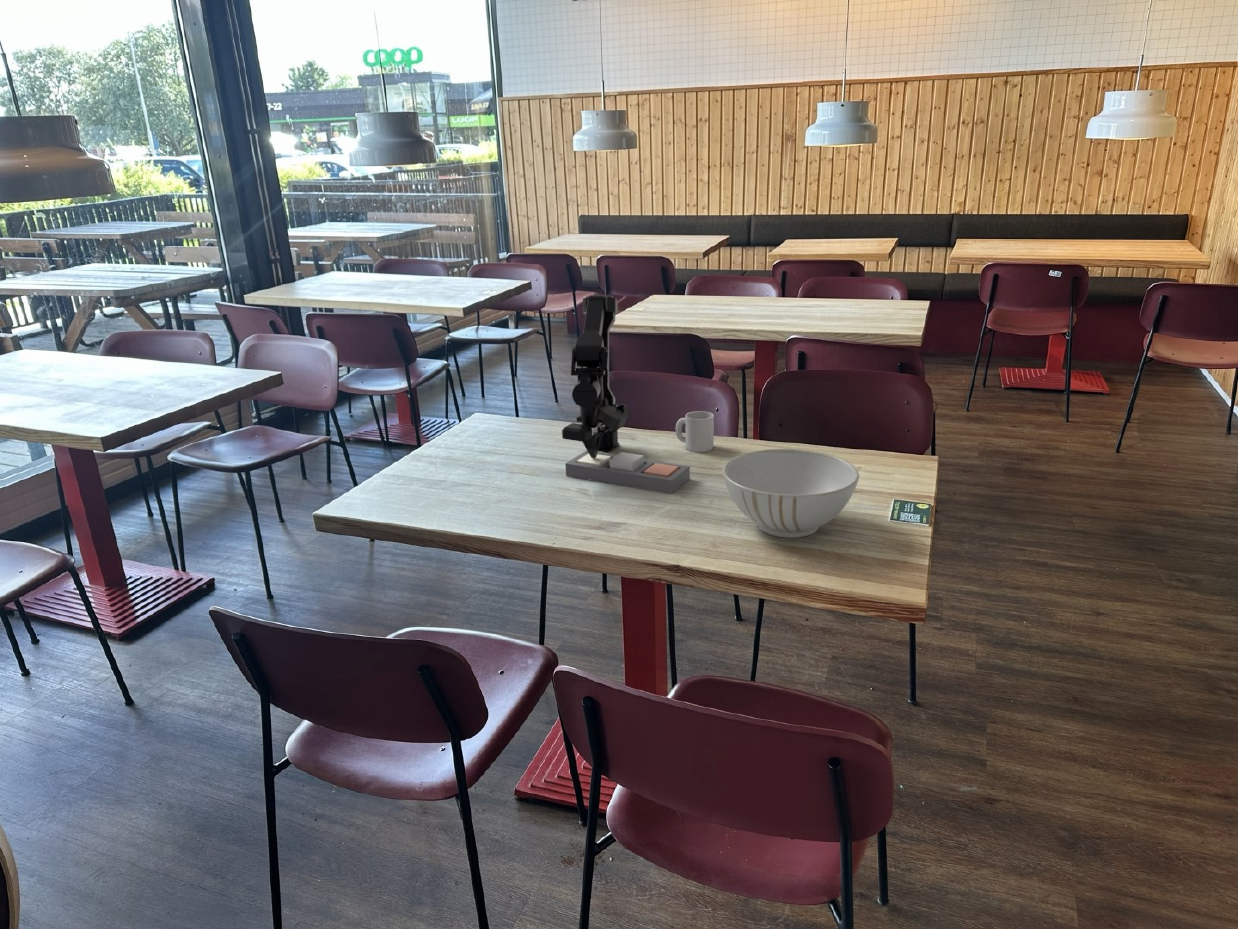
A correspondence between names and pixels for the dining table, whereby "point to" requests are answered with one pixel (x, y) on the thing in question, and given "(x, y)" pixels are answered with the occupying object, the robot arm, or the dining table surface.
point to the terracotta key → (661, 470)
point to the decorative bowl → (790, 489)
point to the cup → (697, 431)
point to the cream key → (594, 460)
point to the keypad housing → (629, 475)
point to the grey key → (627, 461)
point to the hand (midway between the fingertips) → (593, 457)
